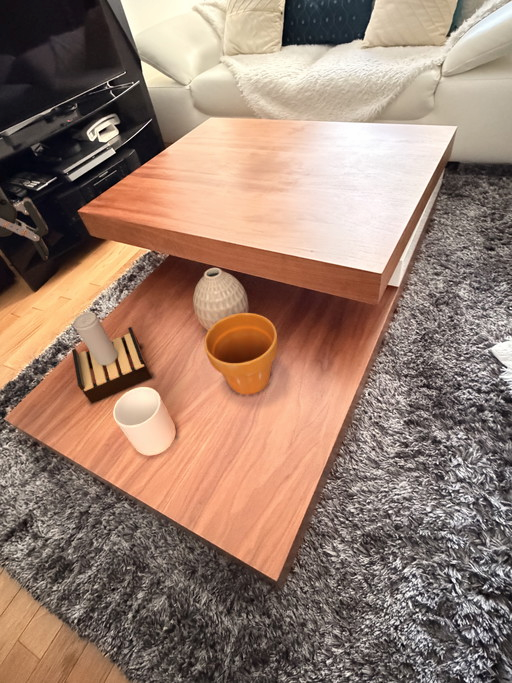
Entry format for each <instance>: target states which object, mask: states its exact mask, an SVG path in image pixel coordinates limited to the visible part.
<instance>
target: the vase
mask: <svg viewBox="0 0 512 683" xmlns="http://www.w3.org/2000/svg"><path fill="white" fill-rule="evenodd" d="M192 307H193V312H194V314H195V317H196V319H197V321H198V322H199V324H200V325H201V326H202V327H203V328H204V329H205V330H207V332H208V331H209V329H210V328H211V327H212V326H213V325H214V324H215V323H217V322H218V321H220V320H221V319H223V318H225V317H228V316H230V315H234V314H239V313H249V299H248V295H247V292H246V290H245V288H244V286H243V284H242V283H241V282H240V280H238V279H237V278H236V277H235V276H233V275H232V274H231V273H228V272H226V271H224V270H222V269H221V268H218V267H211V268H208V269H207V270H205V271H204V273H203V276H202V277H201V278H200V279H199V281H198V282H197V284H196V285H195V287H194V291H193V296H192Z"/></svg>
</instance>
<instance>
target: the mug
mask: <svg viewBox="0 0 512 683" xmlns="http://www.w3.org/2000/svg"><path fill="white" fill-rule="evenodd" d="M112 416H113V419H114V421H115V423H116V424H117V426H119V429H121V431H122V432H123V434H124V435H125V436H126V438H127V439H128V441H129V442H130V444H131V445H132V447H133V448H134V449H135V451H137V453H139V454H140V455H144V456H156V455H159V454H162V453H163V452H165V451H166V450H168V449H169V447H170V446H171V445H172V444H173V442H174V441H175V437H176V434H177V432H176V425H175V423H174V421H173V419H172V417H171V415H170V413H169V411H168V409H167V407H166V405H165V403H164V401H163V399H162V397H161V395H160V393H159V392H158V391H157V390H156V389H154V388H152V387H147V386H140V387H135V388H133V389H130V390H128V391H127V392H125V393H124V394H122V395H121V397H119V398H118V399H117V400H116V402H115V405H114V407H113V411H112Z"/></svg>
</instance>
